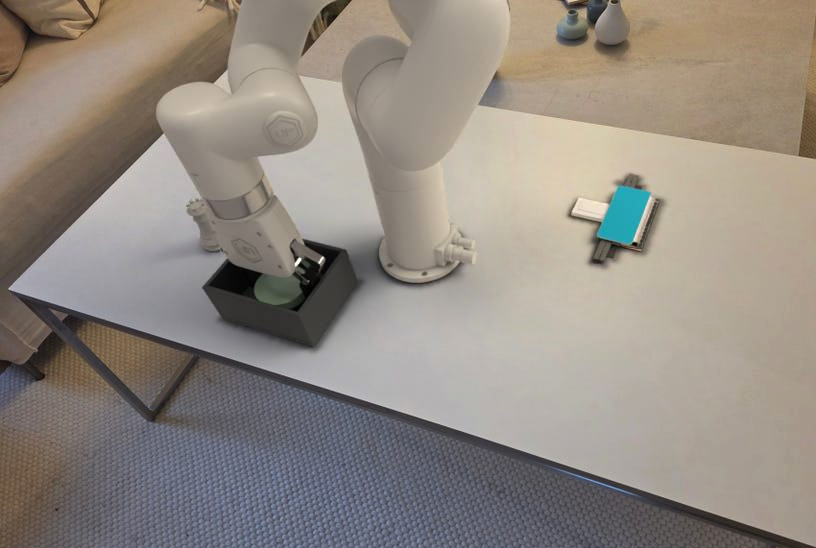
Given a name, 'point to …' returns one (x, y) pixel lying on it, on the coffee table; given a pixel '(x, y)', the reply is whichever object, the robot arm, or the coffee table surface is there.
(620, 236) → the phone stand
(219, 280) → the tub
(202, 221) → the rook chess piece
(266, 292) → the green round disc
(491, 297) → the coffee table surface
